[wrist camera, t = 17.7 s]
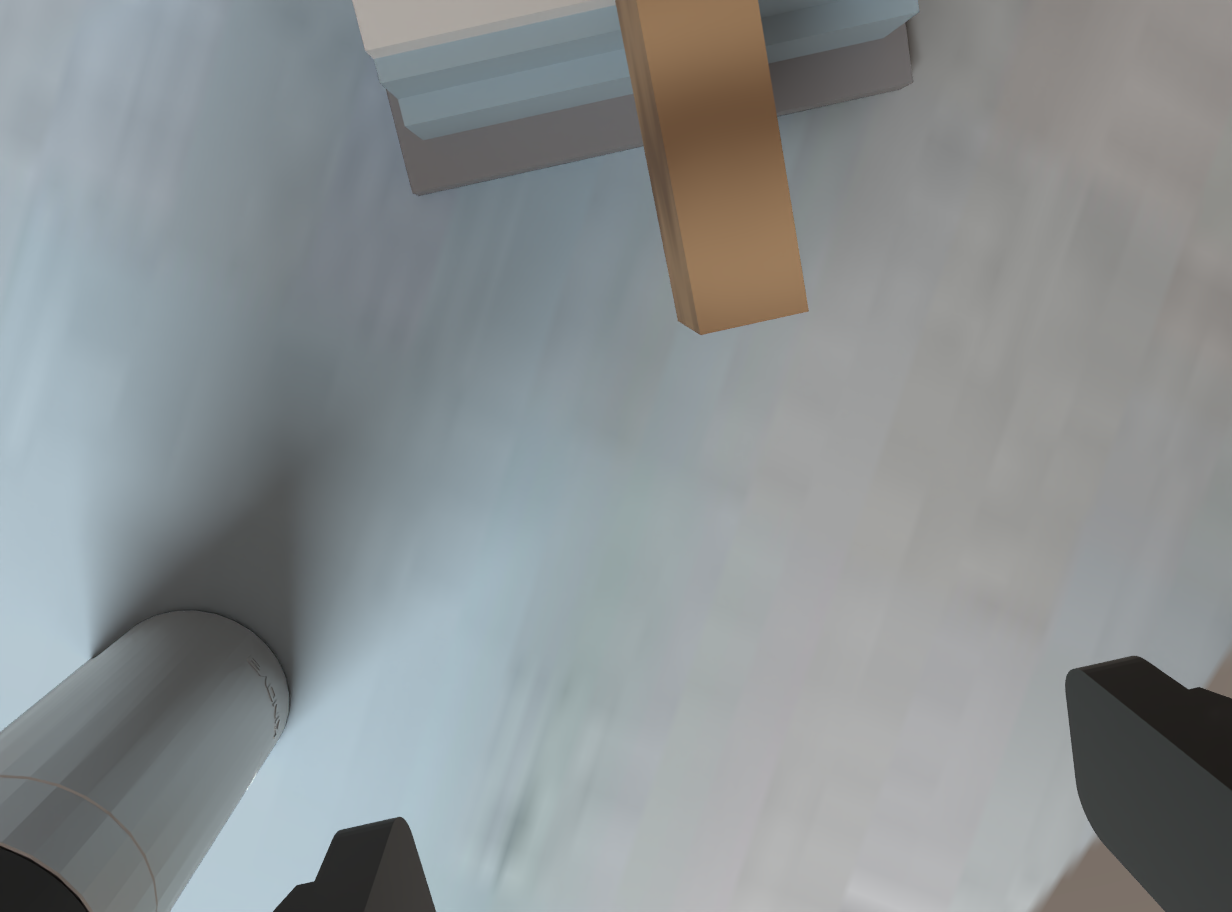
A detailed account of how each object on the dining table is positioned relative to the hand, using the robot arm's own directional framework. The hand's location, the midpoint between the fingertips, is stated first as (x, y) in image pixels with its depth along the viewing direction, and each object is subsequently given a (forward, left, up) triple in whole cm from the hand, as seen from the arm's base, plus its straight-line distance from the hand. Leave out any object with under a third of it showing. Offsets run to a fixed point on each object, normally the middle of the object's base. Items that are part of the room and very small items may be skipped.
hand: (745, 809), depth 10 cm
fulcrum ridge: (+4, +16, -32) cm, 36 cm away
